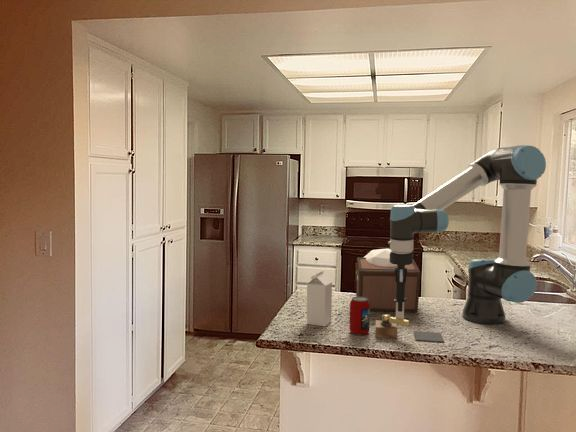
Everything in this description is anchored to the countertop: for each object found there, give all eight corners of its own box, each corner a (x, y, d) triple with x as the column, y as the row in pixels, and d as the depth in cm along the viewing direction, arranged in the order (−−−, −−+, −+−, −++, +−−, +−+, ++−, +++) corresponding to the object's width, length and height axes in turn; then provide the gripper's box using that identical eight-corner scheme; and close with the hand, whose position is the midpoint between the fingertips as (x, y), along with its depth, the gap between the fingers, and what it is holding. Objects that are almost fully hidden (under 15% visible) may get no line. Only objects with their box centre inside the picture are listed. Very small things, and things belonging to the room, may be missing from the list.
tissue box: (357, 319, 190) (359, 264, 182) (353, 288, 216) (354, 239, 209) (417, 320, 188) (422, 265, 181) (405, 289, 215) (409, 239, 207)
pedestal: (396, 331, 162) (396, 320, 162) (396, 338, 154) (397, 327, 154) (375, 330, 164) (375, 318, 163) (375, 337, 156) (375, 325, 155)
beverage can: (368, 336, 157) (369, 301, 156) (348, 335, 158) (349, 300, 157) (369, 330, 163) (370, 296, 162) (350, 328, 165) (350, 295, 164)
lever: (409, 325, 154) (409, 319, 154) (405, 327, 152) (405, 320, 152) (384, 320, 161) (384, 313, 160) (380, 321, 159) (380, 315, 158)
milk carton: (331, 321, 173) (332, 271, 172) (324, 327, 167) (325, 274, 165) (313, 319, 176) (314, 269, 175) (306, 324, 170) (307, 273, 168)
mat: (440, 333, 160) (440, 332, 160) (444, 342, 151) (444, 341, 151) (413, 332, 162) (413, 330, 162) (415, 340, 153) (415, 339, 153)
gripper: (389, 247, 161) (388, 312, 164) (389, 255, 149) (388, 325, 152) (412, 248, 159) (410, 314, 163) (413, 256, 147) (411, 327, 150)
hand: (399, 319), depth 157 cm, fingers closed
